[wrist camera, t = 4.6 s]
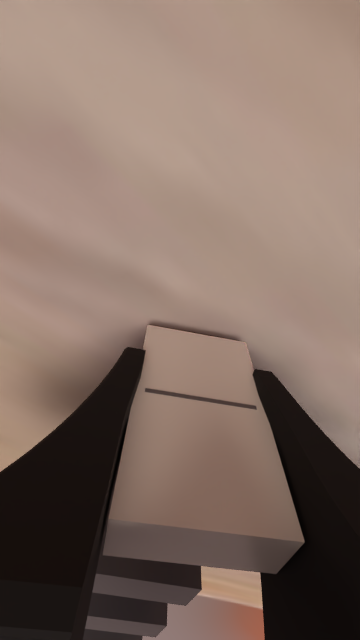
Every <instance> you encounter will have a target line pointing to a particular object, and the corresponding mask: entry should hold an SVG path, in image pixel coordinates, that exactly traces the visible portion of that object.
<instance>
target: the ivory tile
mask: <svg viewBox="0 0 360 640" xmlns="http://www.w3.org/2000/svg"><path fill="white" fill-rule="evenodd" d="M143 350H146V352H145V358H144V363H143V368H142V374H141V378H140V381H139V384H138V387H137V390H136V393H135V396H134V399H133V403H132V406H131V410H130V415H129V420H128V424H127V429H126V434H125V439H124V444H123V449H122V454H121V459H120V464H119V469H118V474H117V479H116V484H115V489H114V494H113V499H112V504H111V508H110V513H109V518H108V524H107V531H106V537H105V543H104V549H103V555H106V556H115V557H124V558H133V559H142V560H152V561H161V562H170V563H179V564H189V565H198V566H207V567H216V568H225V569H235V570H244V571H253V572H262V573H272V574H277V573H278V571H279V570H280V569H281V568H282V567H283V566H284V565H285V564H286V563H287V562H288V560H289V559H290V558H291V557H292V556H293V555H294V554H295V553H296V552H297V550H298V549H299V548H300V547H301V546H302V545H303V544H304V543H305V541H304V538H303V534H302V531H301V527H300V524H299V521H298V517H297V514H296V510H295V507H294V504H293V500H292V497H291V494H290V490H289V487H288V483H287V480H286V477H285V473H284V470H283V466H282V463H281V460H280V456H279V453H278V450H277V446H276V443H275V439H274V436H273V433H272V429H271V426H270V424H269V421H268V419H267V416H266V414H265V411H264V408H263V406H262V403H261V401H260V398H259V396H258V392H257V389H256V385H255V382H254V378H253V372H254V368H253V365H252V361H251V358H250V355H249V351H248V348H247V345H246V342H241V341H235V340H230V339H224V338H219V337H213V336H208V335H202V334H197V333H191V332H186V331H180V330H175V329H169V328H164V327H158V326H152V325H148V326H147V331H146V336H145V340H144V345H143Z"/></svg>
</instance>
